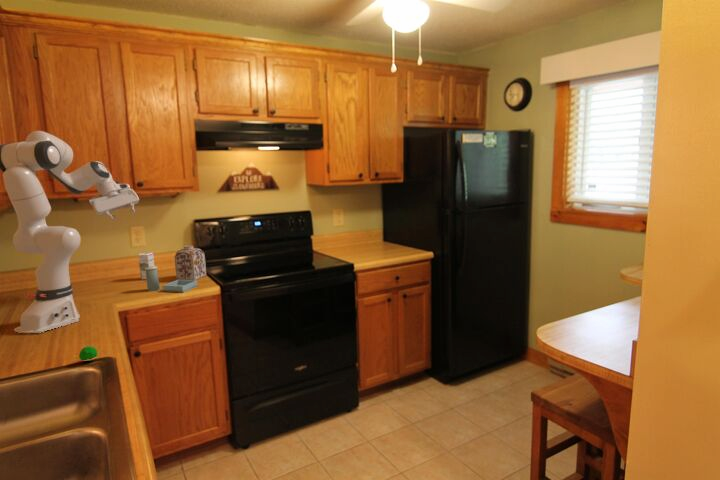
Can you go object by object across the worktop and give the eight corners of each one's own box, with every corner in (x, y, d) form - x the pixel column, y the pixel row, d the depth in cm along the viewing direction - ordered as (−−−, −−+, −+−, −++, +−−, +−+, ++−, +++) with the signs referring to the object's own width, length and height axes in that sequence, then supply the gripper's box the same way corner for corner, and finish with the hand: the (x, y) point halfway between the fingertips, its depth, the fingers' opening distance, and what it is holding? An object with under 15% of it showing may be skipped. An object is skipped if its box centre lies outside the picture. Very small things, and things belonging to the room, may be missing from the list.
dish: (182, 292, 220) (182, 286, 219) (163, 291, 223) (162, 285, 222) (197, 286, 231) (197, 280, 230) (178, 285, 234) (178, 279, 233)
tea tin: (154, 291, 223) (151, 268, 221) (144, 291, 225) (142, 268, 223) (162, 288, 229) (160, 266, 227) (153, 287, 230) (150, 265, 228)
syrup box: (156, 277, 253) (153, 252, 250) (150, 280, 247) (147, 254, 245) (146, 277, 253) (143, 252, 251) (140, 280, 248) (137, 254, 245)
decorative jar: (176, 280, 245) (172, 247, 242) (188, 274, 256) (185, 243, 253) (195, 280, 242) (192, 248, 239) (207, 275, 253) (204, 244, 250)
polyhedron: (82, 359, 145) (80, 345, 144) (100, 357, 146) (98, 343, 145) (78, 365, 140) (76, 351, 139) (96, 363, 142) (94, 348, 141)
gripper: (87, 195, 209) (101, 220, 208) (131, 183, 222) (145, 206, 221) (87, 201, 214) (101, 226, 213) (130, 189, 227) (143, 211, 226)
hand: (123, 215), depth 217 cm, fingers open, 8 cm apart
